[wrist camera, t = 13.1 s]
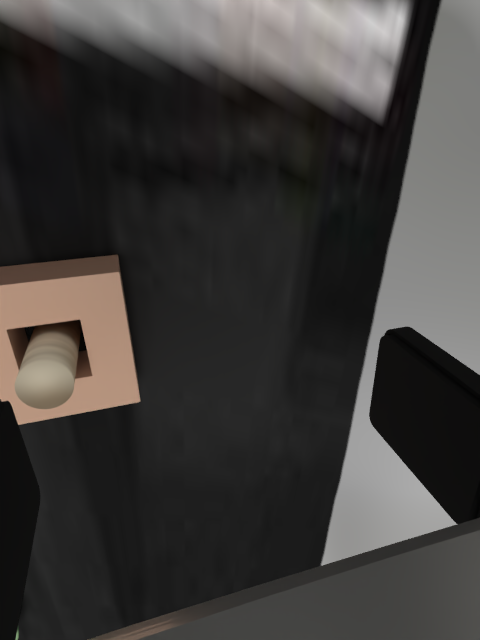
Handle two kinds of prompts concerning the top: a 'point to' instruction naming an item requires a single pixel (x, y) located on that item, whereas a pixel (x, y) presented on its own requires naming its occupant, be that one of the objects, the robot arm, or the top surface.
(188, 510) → the top surface
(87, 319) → the socket
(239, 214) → the top surface
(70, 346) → the peg
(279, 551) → the top surface
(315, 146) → the top surface
